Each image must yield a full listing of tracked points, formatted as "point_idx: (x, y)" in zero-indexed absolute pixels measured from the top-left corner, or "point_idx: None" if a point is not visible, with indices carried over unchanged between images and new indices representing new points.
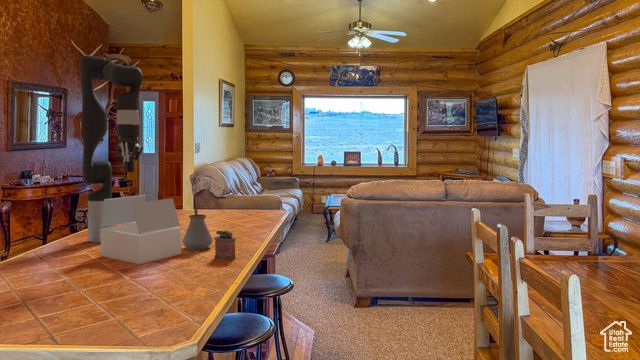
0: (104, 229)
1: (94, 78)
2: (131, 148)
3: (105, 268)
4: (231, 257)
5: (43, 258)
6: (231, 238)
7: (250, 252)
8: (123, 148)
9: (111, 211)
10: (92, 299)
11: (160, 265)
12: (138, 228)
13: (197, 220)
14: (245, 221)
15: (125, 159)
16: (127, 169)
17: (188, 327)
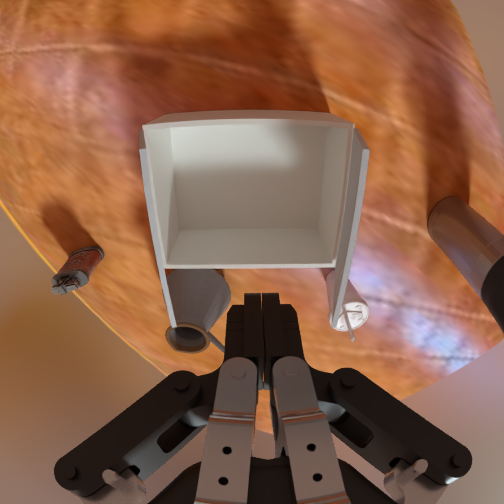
0: (332, 122)
1: None
2: (167, 490)
3: (204, 46)
4: (69, 256)
5: (422, 41)
6: (56, 281)
7: (96, 304)
8: (301, 486)
9: (354, 172)
10: None
11: (123, 141)
12: (139, 132)
13: None
14: None
15: (280, 376)
16: (252, 304)
17: None
